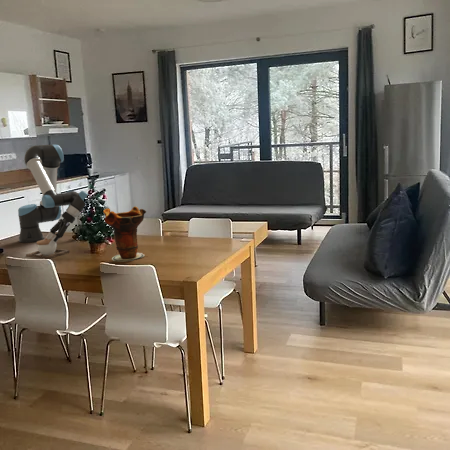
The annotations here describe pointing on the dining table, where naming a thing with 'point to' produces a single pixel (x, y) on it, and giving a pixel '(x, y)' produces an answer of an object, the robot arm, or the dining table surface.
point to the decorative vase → (125, 232)
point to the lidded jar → (46, 247)
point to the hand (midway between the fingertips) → (47, 244)
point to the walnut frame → (49, 255)
